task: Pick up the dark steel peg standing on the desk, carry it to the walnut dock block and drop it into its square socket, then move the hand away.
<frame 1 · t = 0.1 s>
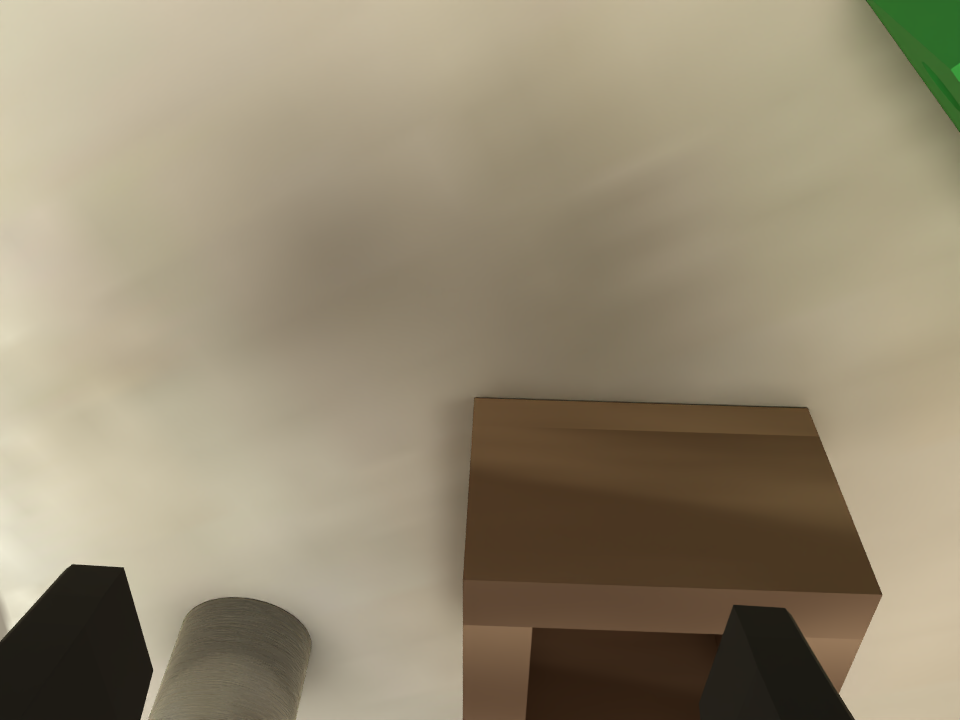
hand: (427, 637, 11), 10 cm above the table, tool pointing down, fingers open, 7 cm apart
socket: (622, 518, 24), on the table
peg: (247, 638, 28), on the table
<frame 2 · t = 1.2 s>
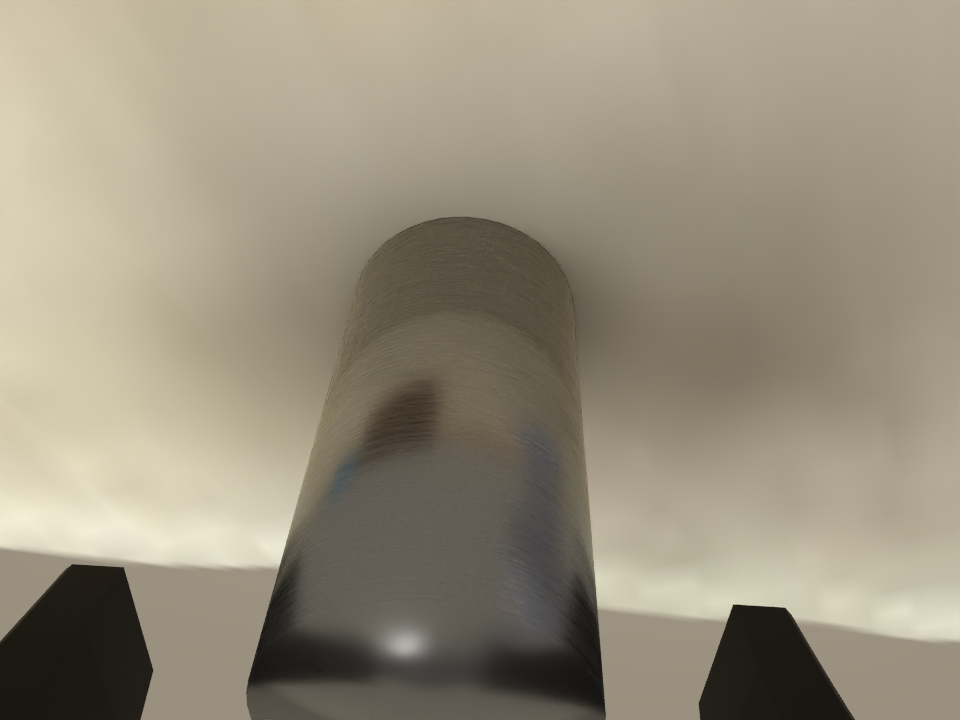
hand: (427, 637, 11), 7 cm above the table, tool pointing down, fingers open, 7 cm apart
peg: (464, 314, 16), on the table
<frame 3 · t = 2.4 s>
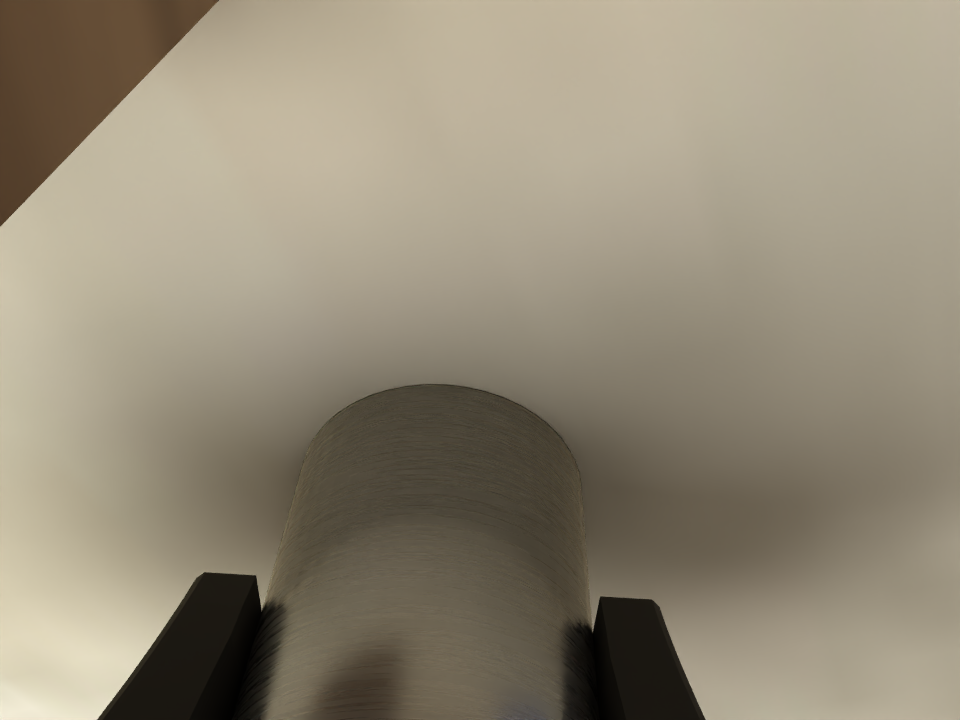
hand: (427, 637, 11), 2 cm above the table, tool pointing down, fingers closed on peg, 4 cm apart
peg: (441, 494, 13), on the table, touching gripper
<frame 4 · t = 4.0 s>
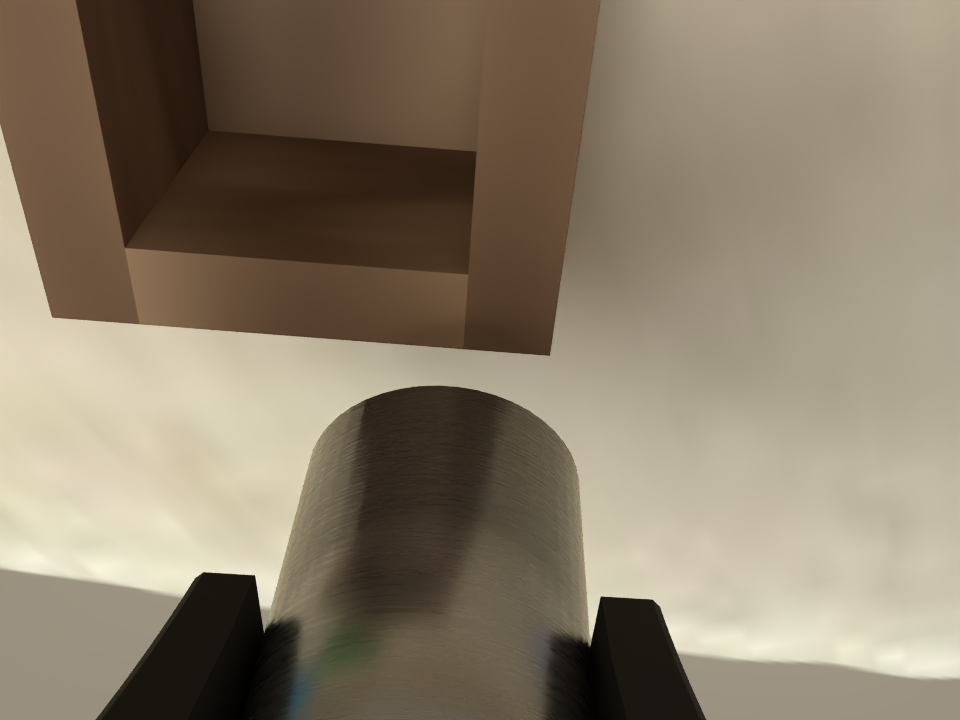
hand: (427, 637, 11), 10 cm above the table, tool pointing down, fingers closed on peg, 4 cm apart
peg: (443, 489, 13), point 8 cm above the table, touching gripper
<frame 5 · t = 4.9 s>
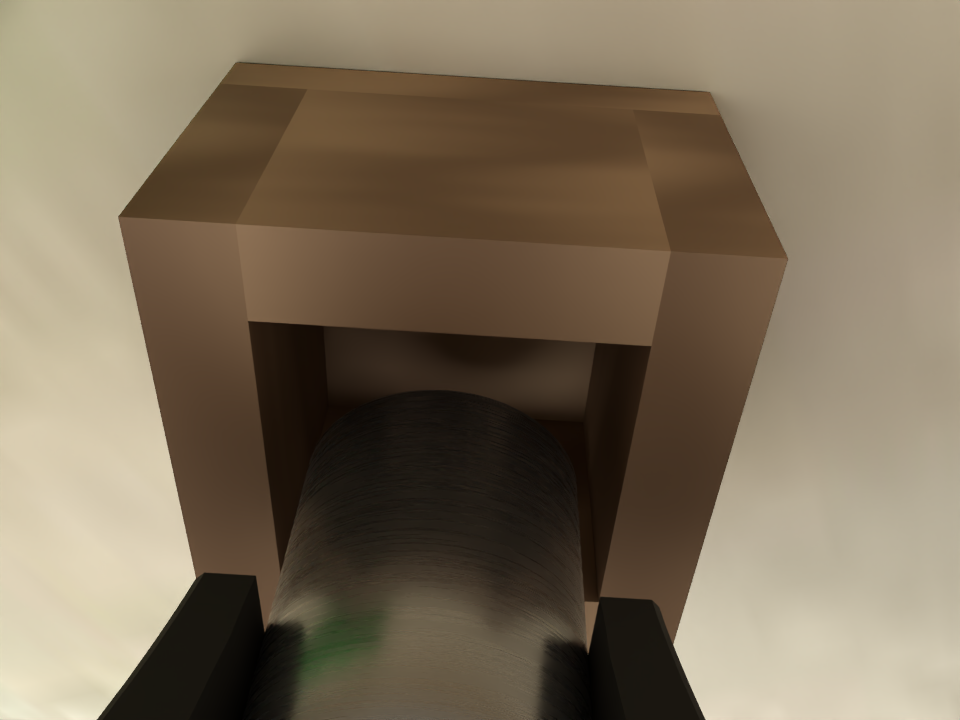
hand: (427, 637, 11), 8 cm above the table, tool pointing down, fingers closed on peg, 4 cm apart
socket: (463, 279, 17), on the table
peg: (442, 492, 13), point 5 cm above the table, touching gripper
when the fingers open (6 cm above the table, at t = 5.7 s): peg drops 3 cm, resting on socket.
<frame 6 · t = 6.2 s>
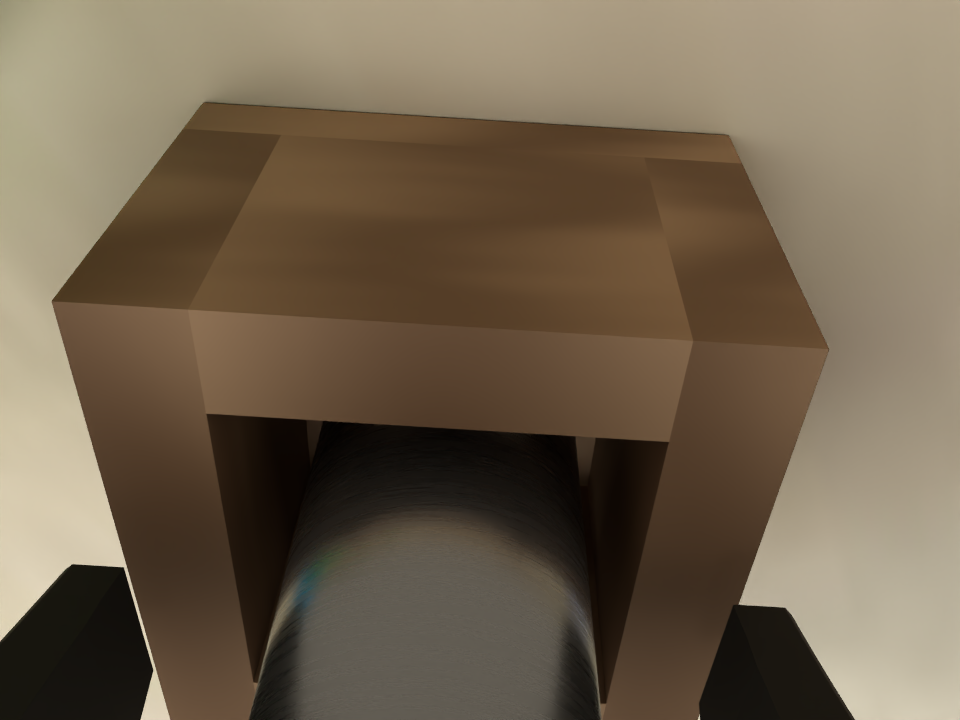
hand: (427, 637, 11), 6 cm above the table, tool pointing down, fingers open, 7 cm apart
socket: (456, 333, 16), on the table
peg: (453, 383, 15), point 1 cm above the table, touching socket
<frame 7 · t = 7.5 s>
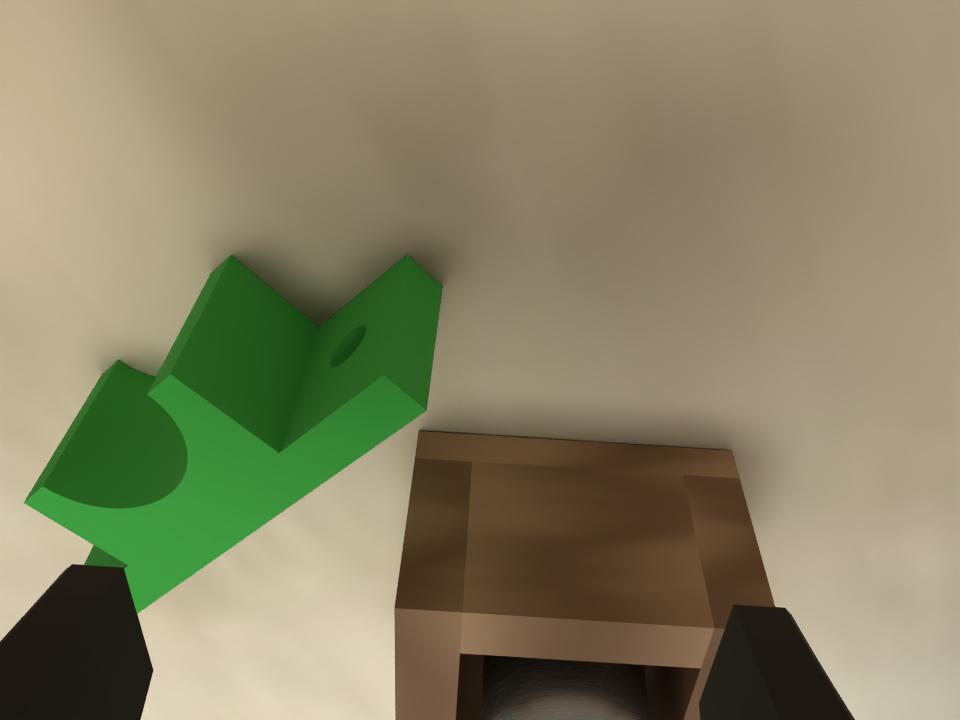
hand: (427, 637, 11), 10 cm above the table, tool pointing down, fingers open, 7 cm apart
socket: (558, 546, 25), on the table
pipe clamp: (235, 358, 22), on the table
peg: (559, 582, 25), point 1 cm above the table, touching socket
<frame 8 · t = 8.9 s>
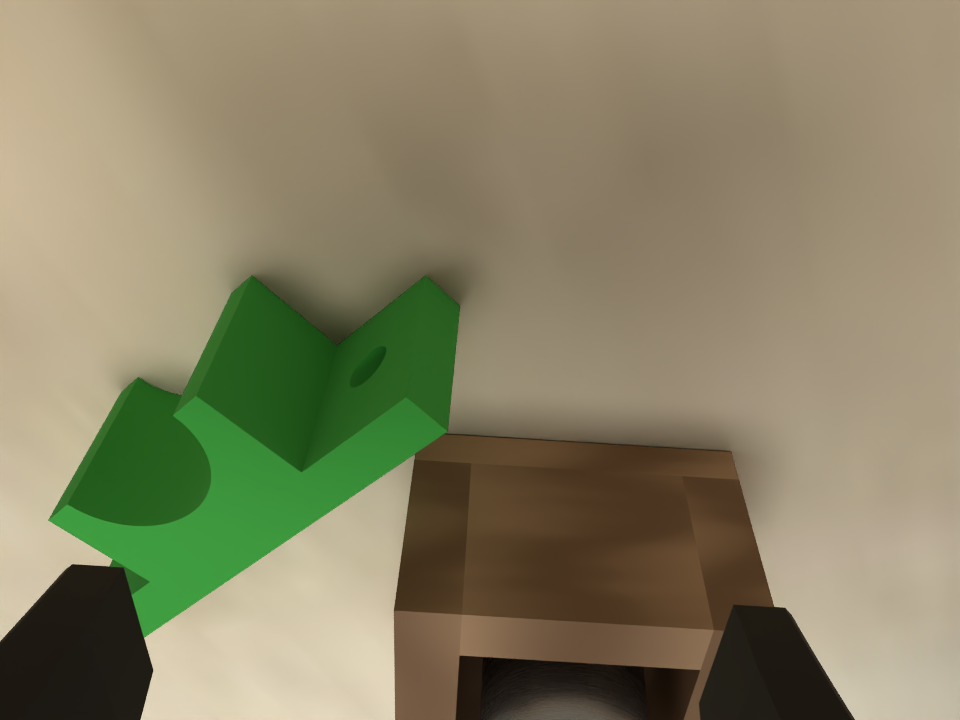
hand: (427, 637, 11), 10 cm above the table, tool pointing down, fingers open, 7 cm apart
socket: (558, 547, 25), on the table
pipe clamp: (253, 375, 22), on the table
peg: (558, 583, 25), point 1 cm above the table, touching socket
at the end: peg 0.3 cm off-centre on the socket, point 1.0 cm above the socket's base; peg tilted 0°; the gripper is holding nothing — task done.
